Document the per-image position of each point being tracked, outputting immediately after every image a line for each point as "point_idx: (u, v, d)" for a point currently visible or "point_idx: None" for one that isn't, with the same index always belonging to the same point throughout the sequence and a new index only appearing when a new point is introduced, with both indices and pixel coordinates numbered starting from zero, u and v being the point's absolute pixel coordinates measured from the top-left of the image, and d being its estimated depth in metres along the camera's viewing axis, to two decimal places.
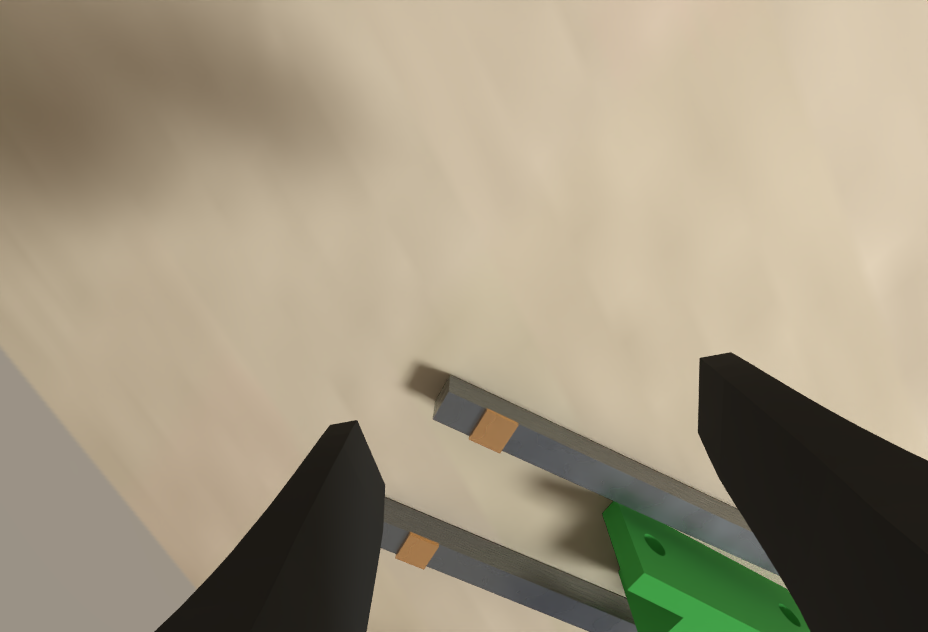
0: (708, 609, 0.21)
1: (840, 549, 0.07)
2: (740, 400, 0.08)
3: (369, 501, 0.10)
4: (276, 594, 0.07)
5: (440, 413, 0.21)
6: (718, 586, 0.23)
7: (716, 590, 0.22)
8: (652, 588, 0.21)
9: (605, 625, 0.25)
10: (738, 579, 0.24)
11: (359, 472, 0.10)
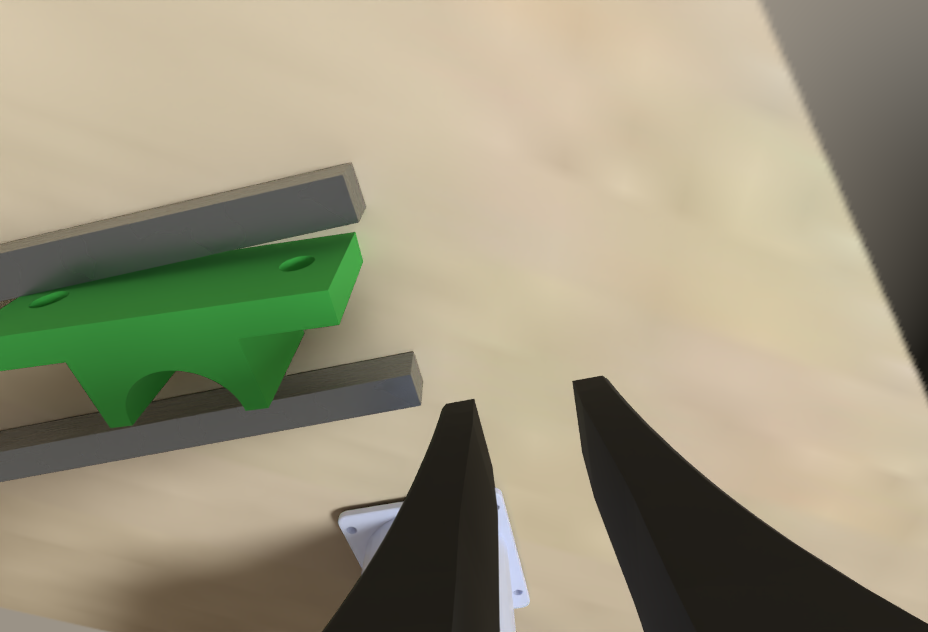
0: (65, 332, 0.14)
1: (648, 576, 0.07)
2: (591, 425, 0.09)
3: (489, 481, 0.10)
4: (458, 567, 0.06)
5: None
6: (138, 294, 0.15)
7: (122, 300, 0.15)
8: None
9: (193, 431, 0.20)
10: (221, 266, 0.16)
11: (481, 451, 0.10)
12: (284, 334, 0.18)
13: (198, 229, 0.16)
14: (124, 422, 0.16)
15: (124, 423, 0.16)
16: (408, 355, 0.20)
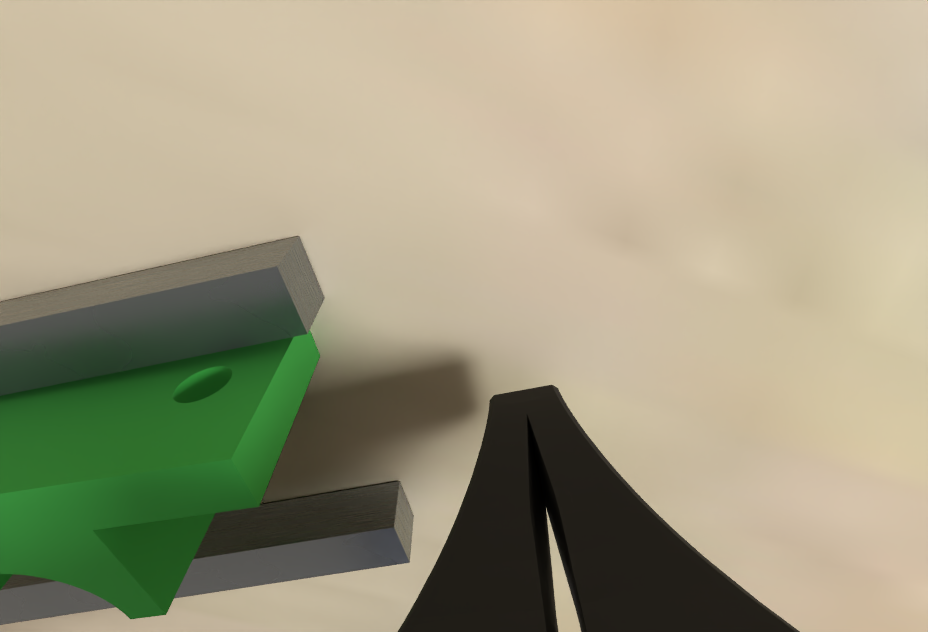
0: None
1: (574, 587, 0.07)
2: (534, 436, 0.09)
3: (538, 473, 0.10)
4: (536, 555, 0.06)
5: None
6: None
7: None
8: None
9: (91, 593, 0.14)
10: (94, 382, 0.11)
11: None
12: None
13: (55, 345, 0.10)
14: None
15: None
16: (392, 488, 0.14)
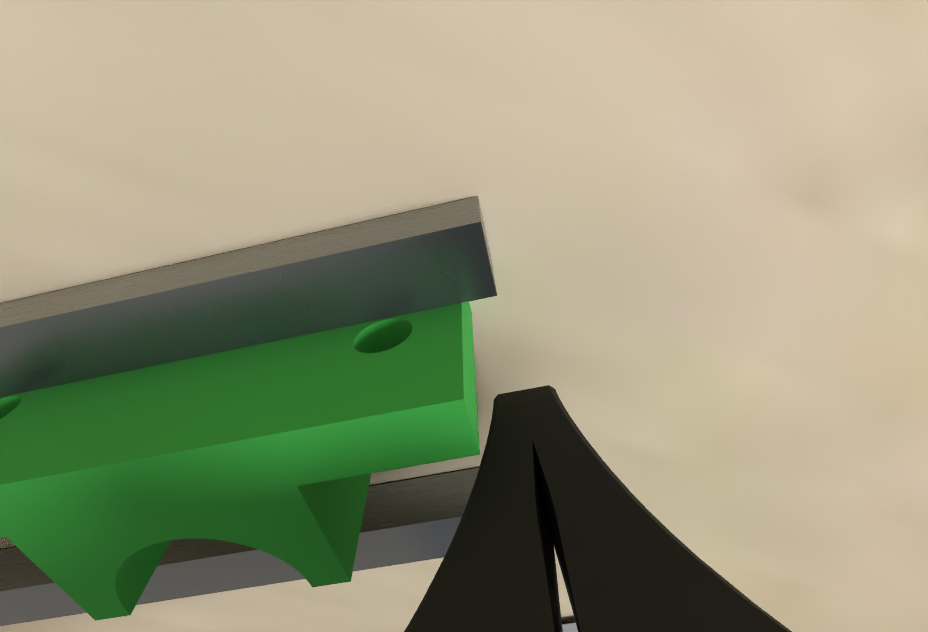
0: None
1: (570, 587, 0.07)
2: (530, 436, 0.09)
3: None
4: (542, 554, 0.06)
5: None
6: (124, 405, 0.09)
7: (97, 420, 0.09)
8: None
9: (219, 573, 0.14)
10: None
11: None
12: None
13: (235, 308, 0.10)
14: (116, 611, 0.10)
15: (117, 613, 0.10)
16: None
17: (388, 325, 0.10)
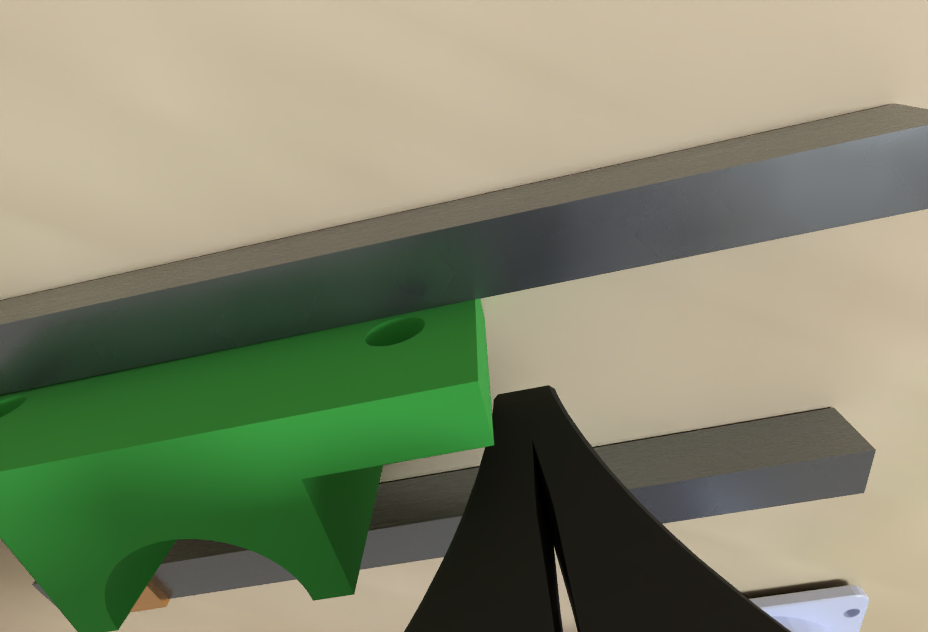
0: None
1: (570, 588, 0.07)
2: (530, 436, 0.09)
3: None
4: (542, 554, 0.06)
5: None
6: (129, 399, 0.09)
7: (101, 413, 0.09)
8: None
9: None
10: (266, 342, 0.10)
11: None
12: None
13: (655, 219, 0.09)
14: (104, 625, 0.09)
15: (104, 627, 0.09)
16: (832, 414, 0.13)
17: (400, 324, 0.10)
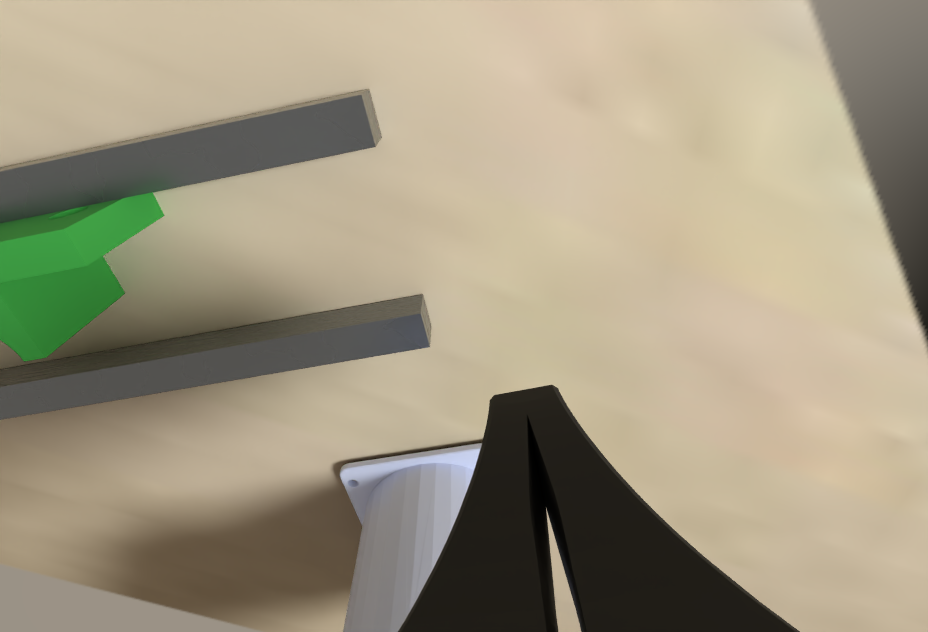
0: None
1: (574, 587, 0.07)
2: (534, 435, 0.09)
3: None
4: (536, 555, 0.06)
5: None
6: None
7: None
8: None
9: (198, 369, 0.19)
10: None
11: None
12: (85, 290, 0.18)
13: (211, 150, 0.15)
14: None
15: None
16: (418, 297, 0.19)
17: (81, 210, 0.16)
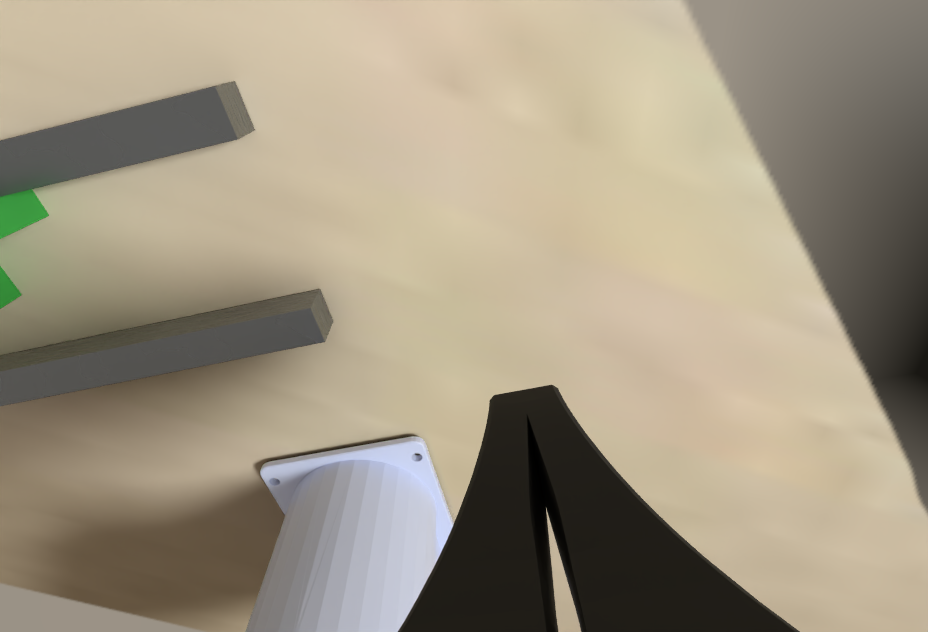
0: None
1: (574, 587, 0.07)
2: (534, 435, 0.09)
3: (538, 473, 0.10)
4: (536, 555, 0.06)
5: None
6: None
7: None
8: None
9: (95, 369, 0.19)
10: None
11: None
12: None
13: (73, 147, 0.15)
14: None
15: None
16: (314, 292, 0.19)
17: None
